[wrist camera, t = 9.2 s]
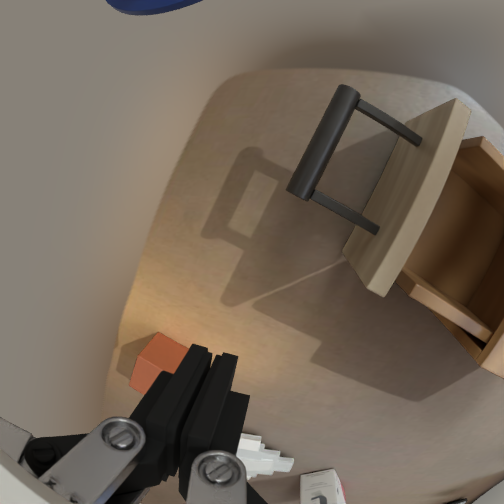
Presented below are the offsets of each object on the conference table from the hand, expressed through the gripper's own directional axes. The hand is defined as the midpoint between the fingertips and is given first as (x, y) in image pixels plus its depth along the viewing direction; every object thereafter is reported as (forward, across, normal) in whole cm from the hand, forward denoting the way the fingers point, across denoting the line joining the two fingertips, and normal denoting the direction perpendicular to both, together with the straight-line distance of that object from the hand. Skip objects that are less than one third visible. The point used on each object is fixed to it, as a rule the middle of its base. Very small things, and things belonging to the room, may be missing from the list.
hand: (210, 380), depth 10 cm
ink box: (+14, -16, +29) cm, 36 cm away
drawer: (+13, -11, -8) cm, 19 cm away
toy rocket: (+14, -1, +24) cm, 27 cm away
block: (+14, +6, +11) cm, 19 cm away
